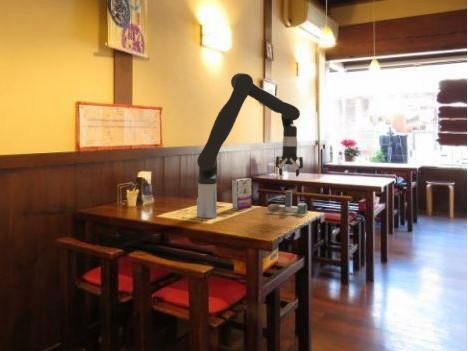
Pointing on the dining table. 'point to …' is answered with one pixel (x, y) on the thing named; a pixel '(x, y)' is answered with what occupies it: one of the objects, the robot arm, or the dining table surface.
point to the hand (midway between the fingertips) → (289, 176)
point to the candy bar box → (242, 193)
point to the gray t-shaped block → (289, 202)
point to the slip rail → (281, 211)
